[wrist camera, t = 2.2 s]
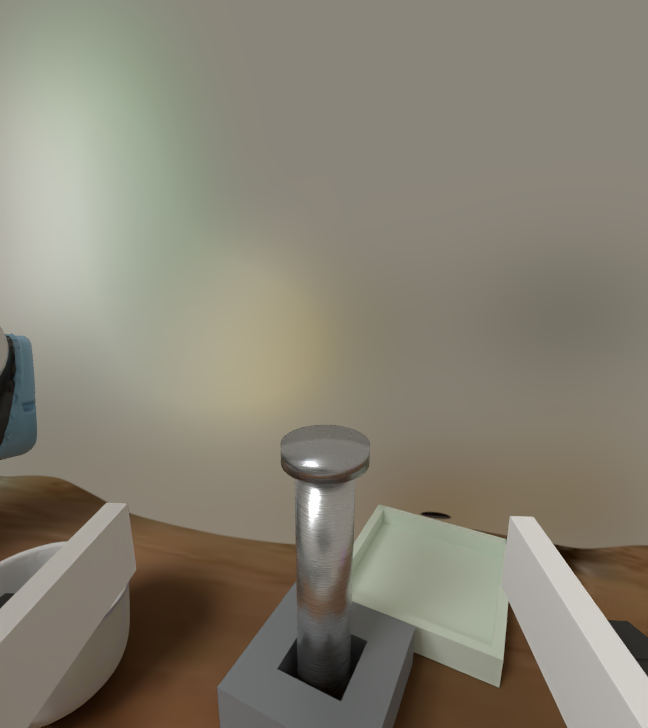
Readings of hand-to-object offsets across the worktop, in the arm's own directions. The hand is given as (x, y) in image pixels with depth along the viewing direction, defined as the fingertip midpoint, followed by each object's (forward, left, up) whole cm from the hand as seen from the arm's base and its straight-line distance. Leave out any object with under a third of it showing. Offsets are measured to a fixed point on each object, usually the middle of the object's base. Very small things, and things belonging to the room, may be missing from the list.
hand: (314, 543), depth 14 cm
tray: (0, +22, -20) cm, 30 cm away
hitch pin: (-4, +9, -20) cm, 23 cm away
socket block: (-4, +9, -20) cm, 23 cm away
